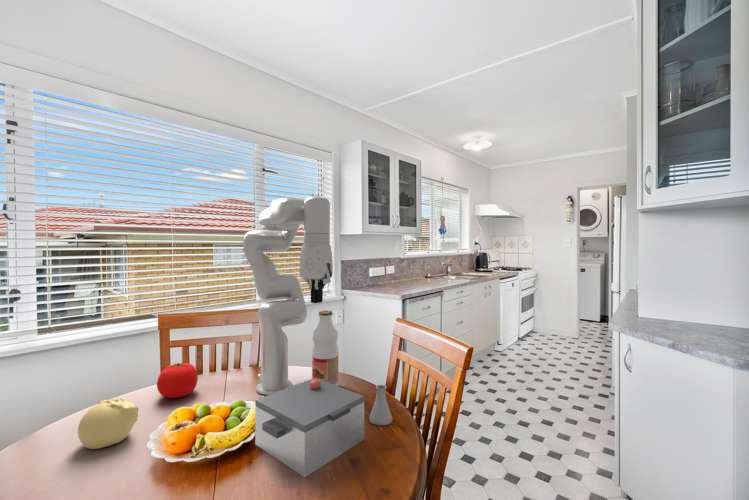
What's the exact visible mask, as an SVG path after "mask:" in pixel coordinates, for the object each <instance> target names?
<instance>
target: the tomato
mask: <svg viewBox="0 0 749 500" xmlns="http://www.w3.org/2000/svg"><path fill="white" fill-rule="evenodd" d="M198 376H199V375H198V371H197V369H196V368H195V366H194V365H193V364H191V363H188V362H186V361H185V362H180V363H179V362H178V363H172V364H170V365H168V366H166V367H165V368H164V369H163V370H162V371H160V374H159V375H158V378H157V382H156V387H157V391H158V393H159V395H161V396H162V397H164V398H170V399H175V398H176V399H177V398H178V399H179V398H182V397H185V396H188V395H190V394H191V393H192V392H194V390H195V389H196V387H197V384H198Z"/></svg>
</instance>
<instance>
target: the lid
mask: <svg viewBox="0 0 749 500" xmlns="http://www.w3.org/2000/svg"><path fill="white" fill-rule="evenodd" d="M363 402H364V403H365V396H364V395H363V394H360V393H357V392H354V391H351V390H348V389H347V388H343V387H341V386H339V385H338V386H336V385H333V384H330V383H328V382H325V381H322V380H320V379H317V378H313V379H312V378H311V379H308V380H305V381H303V382H299V383H298V384H294V385H292V386H291V387H289V388H286V389H283V390H281V391H278V392H275V393H273V394H270V395H265V396H262V397H260V398H257V399H255V402H254V403H255V406H257V407H259V408H260V409H262V410H264V411H266V412H268V413H270V414H271V415H273V416H275V417H277V418H279V419H281V420H282V421H284V422H286V423H288V424H290V425H292V426H293V427H295V428H297V429H299V430H301V431H303V432H304V433H305V432H307V431H309V430H311V429H313V428H315V427H316V426H318V425H320V424H322V423H324V422H326V421H328V420H331V421H335V420H336V419H338V418H340V417H342V416H344V415H346V414H348V413H350V409H351V408H353V407H355V406H357V405H359V404H361V403H363Z"/></svg>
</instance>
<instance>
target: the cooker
mask: <svg viewBox="0 0 749 500" xmlns="http://www.w3.org/2000/svg"><path fill="white" fill-rule="evenodd" d="M254 413H255V417H254V418H255V419H254V420H255V421H254V423H255V425H254V427H255V428H254V429H255V439H254V440H255V442H254V443H255V445H256V446H257V447H258V448H259V449H262V451H264V452H265V453H267V454H269V455H270V456H271V457H272V458H275V459H276V460H278V461H279V462H280V463H281V464H283V465H285V466H287V468H289V469H291V470H292V471H293V472H295V473H297V474H298V475H300V476H301V477H302V478H306V477H308V476H309V475H312V474H313V473H315V472H316V471H317V470H319V469H320V468H322V467H324V466H325V465H327V464H329V463H330V462H331V461H333V460H335V459H336V458H338V457H339V456H340V455H342V454H344V453H346V452H347V451H348V450H350V449H351V448H353V447H354V446H356V445H358V444H359V443H360V442H362V441H364V440H365V401H364V402H363V403H361V404H359V405H357V406H355V407H353V408H351V409H350V413H348V414H346V415H344V416H342V417H340V418H338V419H336V420H335V421H331V420H328V421H326V422H324V423H322V424H320V425H318V426H316V427H315V428H313V429H311V430H309V431H307V432H305V433H304V432H303V431H301V430H299V429H297V428H295V427H293V426H292V425H290V424H288V423H286V422H284V421H282V420H281V419H279V418H277V417H275V416H273V415H271V414H270V413H268V412H266V411H264V410H262V409H260V408H259V407H257V406H255V411H254Z"/></svg>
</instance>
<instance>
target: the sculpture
mask: <svg viewBox="0 0 749 500" xmlns="http://www.w3.org/2000/svg"><path fill="white" fill-rule="evenodd" d="M138 412H139V407H138V405H137V404H135V403H132V402H130V401H128V400H125V399H123V398H121V397H118V396H117V397H114V398H110V399H103V400H99V402H98V403H97V404H96V405H94V406H93V407H91V408H89V410H87V411H86V412H85V414H84V415H83V416H82V418H81V419H80V421H79V424H78V427H77V436H78V437H77V438H78V440H79V442H80V443H81V444H82V445H83V446H84V447H85V448H86V449H90V450H97V449H103V448H105V447H106V448H107V447H109V446H112V445H114V444H118V443H120V442H122V441H123V440H125V439H126V438H127V437H128V435H129V434H130V433H131V432H132V429H133V427H134V425H135V424H136V422H138V417H139V413H138Z"/></svg>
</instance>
